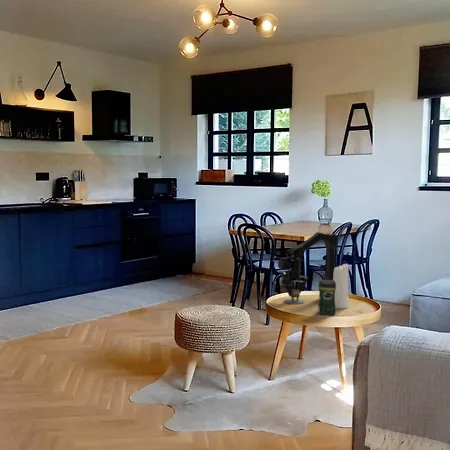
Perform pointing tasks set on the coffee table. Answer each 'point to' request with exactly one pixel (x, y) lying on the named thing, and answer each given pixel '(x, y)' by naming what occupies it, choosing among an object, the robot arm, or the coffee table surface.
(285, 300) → the felt mat
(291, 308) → the coffee table surface
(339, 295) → the decorative vase
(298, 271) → the robot arm
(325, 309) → the coffee jar
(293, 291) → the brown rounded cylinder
